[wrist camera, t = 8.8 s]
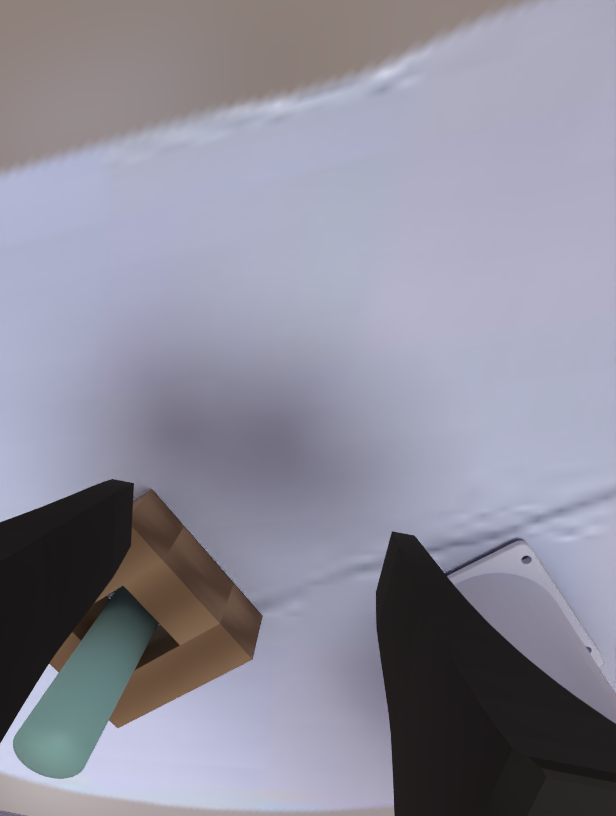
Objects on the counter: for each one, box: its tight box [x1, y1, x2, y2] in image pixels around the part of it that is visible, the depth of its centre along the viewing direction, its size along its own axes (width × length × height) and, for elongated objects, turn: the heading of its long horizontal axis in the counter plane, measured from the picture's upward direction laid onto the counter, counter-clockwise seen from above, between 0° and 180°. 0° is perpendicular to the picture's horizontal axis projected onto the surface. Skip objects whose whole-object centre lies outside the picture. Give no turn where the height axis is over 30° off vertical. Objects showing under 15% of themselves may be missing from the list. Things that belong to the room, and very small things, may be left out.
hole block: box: [49, 490, 262, 728], centre depth 25 cm, size 10×10×3 cm
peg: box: [13, 586, 159, 779], centre depth 22 cm, size 3×3×9 cm
